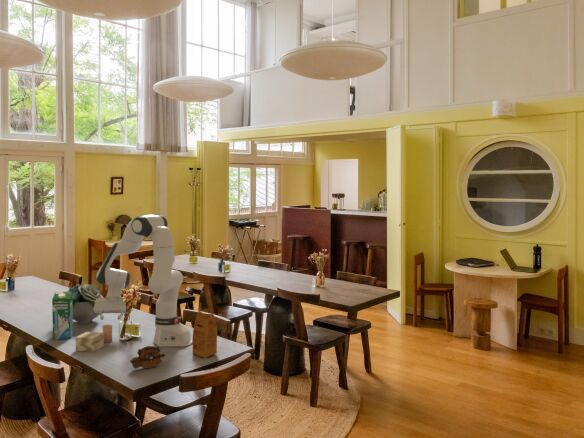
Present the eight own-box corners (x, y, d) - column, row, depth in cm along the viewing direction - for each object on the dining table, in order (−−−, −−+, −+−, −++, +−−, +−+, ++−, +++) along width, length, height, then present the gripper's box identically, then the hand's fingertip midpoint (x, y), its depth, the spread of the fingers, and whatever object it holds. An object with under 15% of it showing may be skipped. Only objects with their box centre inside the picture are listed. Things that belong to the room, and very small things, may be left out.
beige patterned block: (103, 345, 269) (103, 332, 268) (93, 351, 259) (93, 338, 258) (86, 344, 270) (86, 331, 270) (75, 350, 260) (75, 337, 260)
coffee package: (204, 349, 266) (204, 308, 264) (219, 354, 257) (219, 312, 256) (189, 353, 258) (189, 311, 257) (204, 359, 250) (204, 316, 248)
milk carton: (52, 339, 277) (52, 295, 276) (55, 335, 286) (55, 291, 284) (70, 338, 280) (69, 294, 278) (73, 333, 288) (72, 291, 287)
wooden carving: (132, 372, 231) (132, 351, 230) (129, 369, 235) (129, 349, 234) (166, 365, 241) (166, 345, 240) (163, 362, 245) (163, 342, 244)
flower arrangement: (96, 328, 299) (96, 288, 298) (55, 327, 300) (54, 287, 298) (112, 317, 324) (111, 280, 322) (74, 316, 325) (73, 279, 323)
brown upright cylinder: (113, 341, 277) (113, 325, 276) (109, 343, 272) (109, 327, 271) (105, 340, 278) (105, 324, 277) (101, 343, 273) (101, 326, 272)
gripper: (94, 295, 286) (89, 316, 277) (131, 294, 289) (128, 316, 280) (96, 301, 291) (92, 322, 282) (133, 300, 293) (129, 321, 284)
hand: (110, 319), depth 281 cm, fingers open, 8 cm apart
